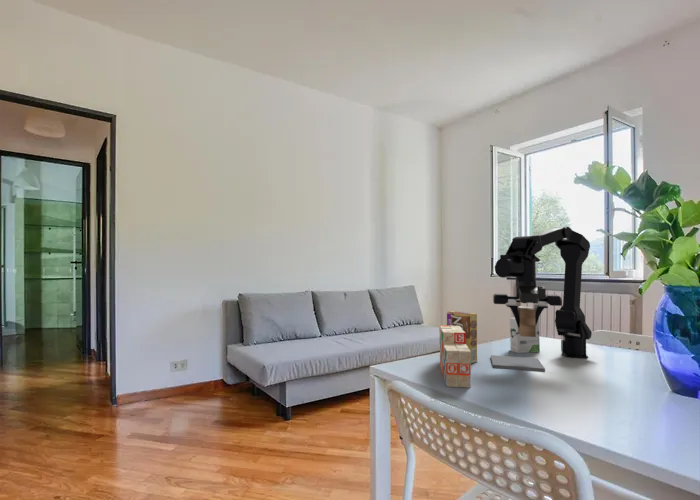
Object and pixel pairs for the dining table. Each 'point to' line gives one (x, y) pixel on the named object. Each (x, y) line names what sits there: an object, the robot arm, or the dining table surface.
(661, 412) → the dining table surface
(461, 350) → the stack of blocks
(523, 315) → the cream panel wooden box
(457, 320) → the candy box
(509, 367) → the rubber mat
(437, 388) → the dining table surface
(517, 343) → the ink box
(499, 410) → the dining table surface
